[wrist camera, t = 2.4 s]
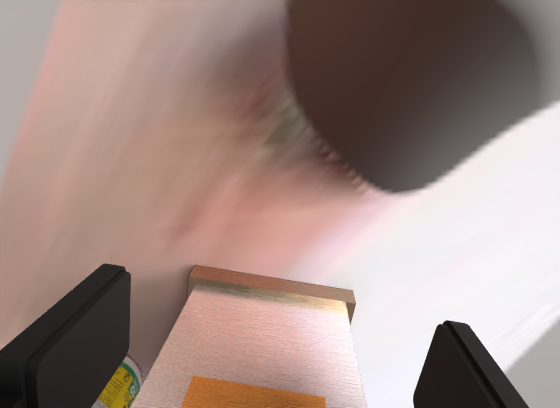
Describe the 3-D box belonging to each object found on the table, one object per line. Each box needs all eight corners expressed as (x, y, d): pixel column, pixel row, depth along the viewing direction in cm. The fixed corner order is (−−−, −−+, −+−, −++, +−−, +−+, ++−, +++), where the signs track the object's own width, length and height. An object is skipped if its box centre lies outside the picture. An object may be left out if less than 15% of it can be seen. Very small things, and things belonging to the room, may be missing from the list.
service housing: (195, 265, 24) (50, 511, 10) (352, 290, 24) (424, 573, 10) (189, 335, 26) (61, 623, 12) (335, 359, 26) (375, 676, 12)
